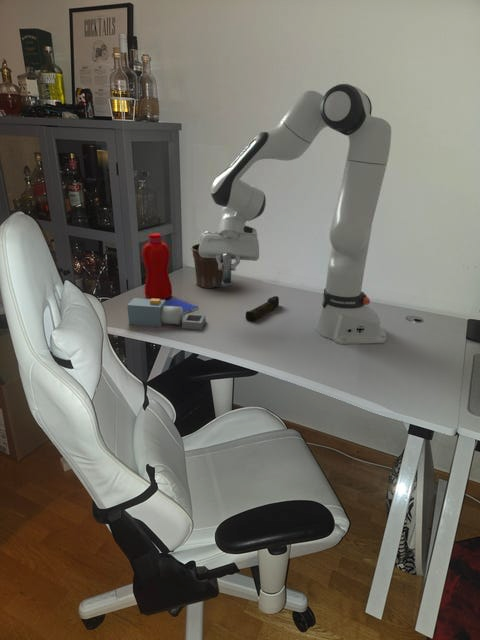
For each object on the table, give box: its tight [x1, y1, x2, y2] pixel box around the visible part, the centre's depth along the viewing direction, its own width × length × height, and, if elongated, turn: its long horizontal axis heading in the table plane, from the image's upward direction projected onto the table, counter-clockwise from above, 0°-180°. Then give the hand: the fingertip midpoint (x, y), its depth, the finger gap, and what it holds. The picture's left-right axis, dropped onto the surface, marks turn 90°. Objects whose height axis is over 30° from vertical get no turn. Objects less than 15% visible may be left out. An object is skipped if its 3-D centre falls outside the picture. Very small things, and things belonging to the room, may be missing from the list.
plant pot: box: [190, 243, 223, 289], centre depth 173 cm, size 16×16×16 cm
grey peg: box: [221, 253, 233, 289], centre depth 134 cm, size 4×4×11 cm
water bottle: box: [141, 232, 173, 301], centre depth 156 cm, size 9×11×25 cm
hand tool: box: [244, 295, 280, 323], centre depth 147 cm, size 19×4×5 cm, turn 141°
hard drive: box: [165, 297, 199, 316], centre depth 151 cm, size 2×8×12 cm
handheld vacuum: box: [126, 297, 207, 331], centre depth 137 cm, size 25×7×8 cm, turn 83°
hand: (226, 269), depth 134 cm, fingers closed on grey peg, 3 cm apart
